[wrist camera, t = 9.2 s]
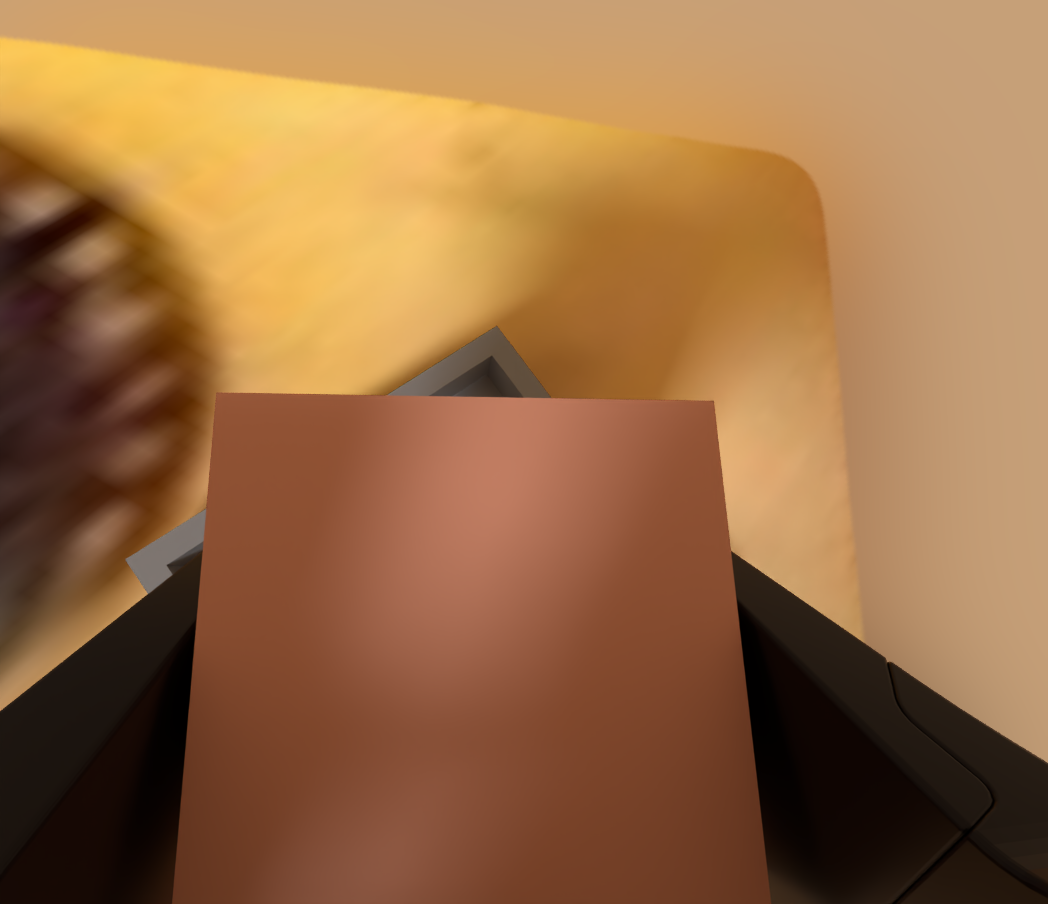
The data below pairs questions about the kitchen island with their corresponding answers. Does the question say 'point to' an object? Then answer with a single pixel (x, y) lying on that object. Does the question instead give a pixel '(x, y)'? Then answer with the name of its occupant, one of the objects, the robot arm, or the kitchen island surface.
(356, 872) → the terracotta block
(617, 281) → the kitchen island surface
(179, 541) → the charcoal tray
